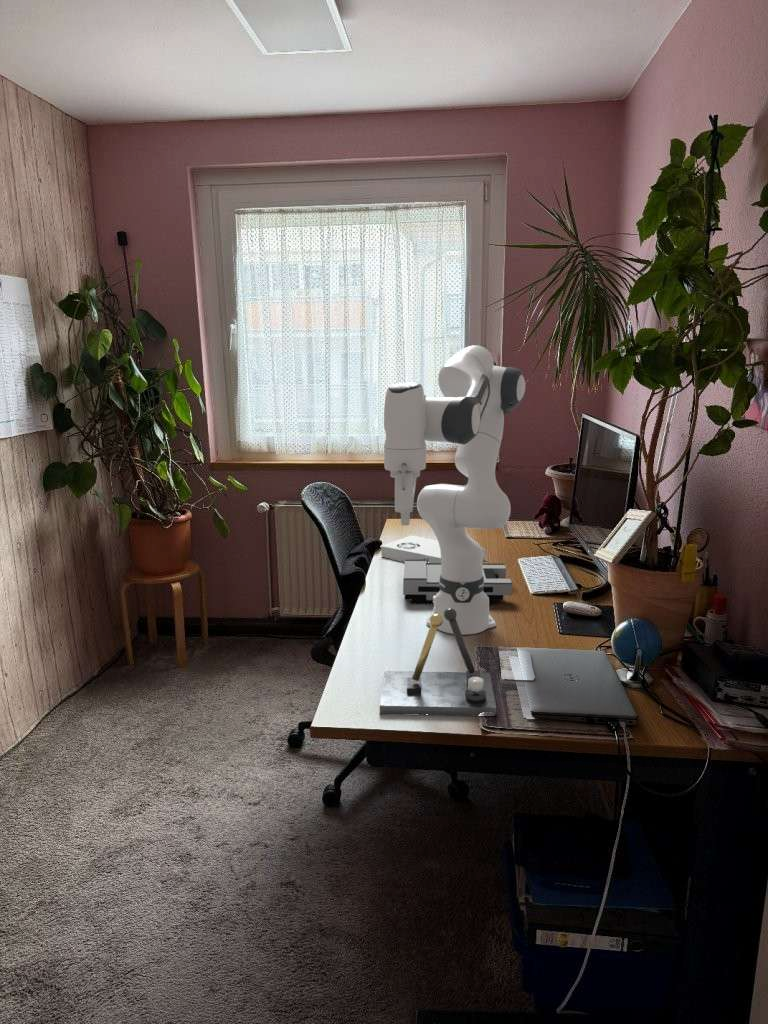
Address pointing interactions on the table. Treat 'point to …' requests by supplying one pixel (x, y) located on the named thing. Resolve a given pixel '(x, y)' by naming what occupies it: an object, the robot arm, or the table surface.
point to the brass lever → (427, 645)
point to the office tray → (425, 584)
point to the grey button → (475, 684)
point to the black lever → (459, 638)
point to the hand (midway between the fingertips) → (405, 523)
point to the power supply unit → (414, 549)
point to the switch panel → (435, 694)
